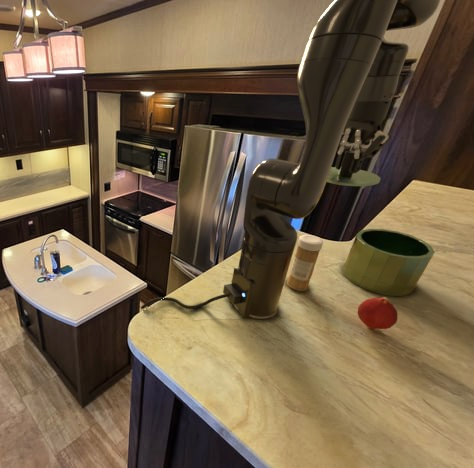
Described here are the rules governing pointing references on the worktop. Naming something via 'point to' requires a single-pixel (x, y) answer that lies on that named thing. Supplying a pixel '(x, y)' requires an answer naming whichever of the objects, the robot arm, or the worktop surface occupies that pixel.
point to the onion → (377, 313)
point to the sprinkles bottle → (304, 262)
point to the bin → (387, 261)
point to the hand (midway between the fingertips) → (346, 170)
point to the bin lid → (351, 179)
